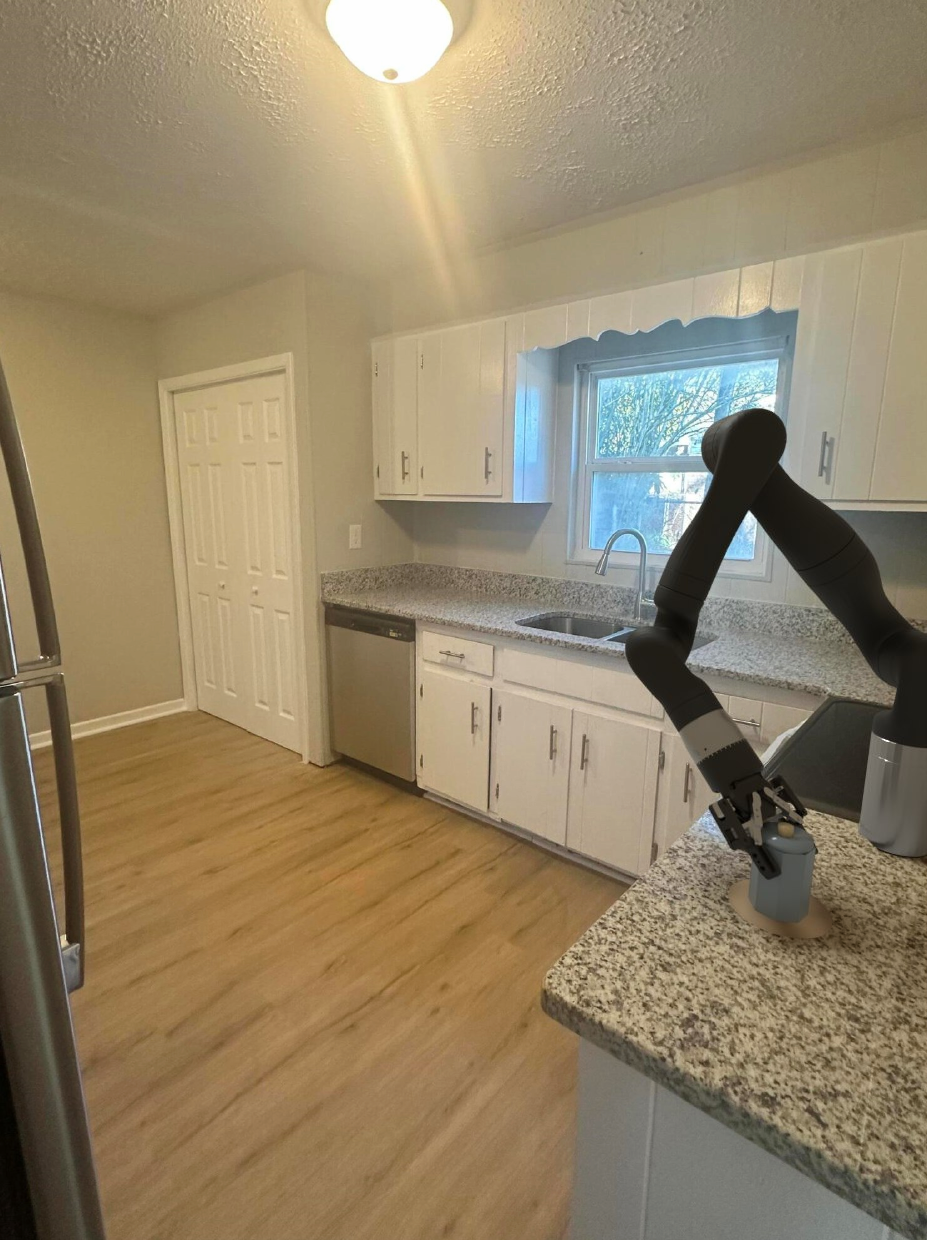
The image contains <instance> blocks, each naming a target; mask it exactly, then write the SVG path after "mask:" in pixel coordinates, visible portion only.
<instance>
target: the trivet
mask: <svg viewBox="0 0 927 1240" xmlns="http://www.w3.org/2000/svg"><path fill="white" fill-rule="evenodd" d="M749 883H750V878H747V879H743V880H740V881H737V882H736V883H734V884H733V885H731V887H730V888H729V890H728V893H727V896H728V901H729V904H730V906H731V907H732V908H733V910H735V912H736V913H737V914H738V915H739V916H740V917H741V918H743V919H744V920H745V921H747V922H748V923H750V924H752V925H753V926H755V927H757V928H759V929H761V930H764V931H766V932H768V933H771V934H774V935H778V936H782V937H787V938H791V939H792V938H793V939H801V940H802V939H804V940H805V939H816V938H819V937H822V936H824V935H826V934H827V933H829V931H830V930H831V929H832V927H833V916H832V914H831V912H830V911H829V910H828V908H827V907H826V906H825V905H824V904H823V903H822V901H820V900H819V899H818V898H816V897H815V896H813V895H812V894H810V902H809V911H808V915H807V916H806V917H805V918H803V919H802V920H801V921H800V922H799V923H792V922H780V921H774V920H773V919H771V918H769V917H767V916H765V915H763V914H761V913H759V912H757V911H755V910H754V908H753V906H752V904H751V902H750V900H749V898H748V893H749Z"/></svg>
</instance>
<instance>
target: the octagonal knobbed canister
mask: <svg viewBox="0 0 927 1240" xmlns="http://www.w3.org/2000/svg"><path fill="white" fill-rule="evenodd" d="M805 830H806V829H805ZM805 830H803V829H801V828H799V827H796V826H793V825H791V824H789V823H785V822H766V823H763V826H762V828H761V837H762V845H764V844H765V846H766V847H767V849H768V850H769V852H770V854H771V855H772V857H773V858H774V860H775V862H776V863H777V865H778V866H779V868H780V870H781V872H782V873H781V875H779V876H778V877H775V878H773V879H770V880H767V879H765V878H764V876H763V875H762V874H761V873H760V872H759V870H758V868H757V867H756V865H755V864H754V862H753V860H752V859H751V862H750V863H751V864H750V874H749V879H750V883H749V893H748V898H749V900H750V902H751V904H752V906H753V908H754V910H755V911H757V912H759V913H761V914H763V915H765V916H767V917H769V918H771V919H773V920H774V921H780V922H792V923H799V922H800V921H801V920H802V919H803V918H805V917H806V916H807V915H808V911H809V902H810V895H812V894H811V893H812V892H811V891H812V883H813V878H814V877H813V876H814V875H813V874H814V868H815V860H816V859H815V858H816V855H815V852H816V848H815V846H814V843H815V838H814V837H813V836H812V834H810V833H809V832H808V831H807V830H806V831H807V832H806V831H805ZM762 845H761V846H762Z"/></svg>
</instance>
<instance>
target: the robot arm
mask: <svg viewBox="0 0 927 1240" xmlns="http://www.w3.org/2000/svg"><path fill="white" fill-rule="evenodd" d="M787 438H788V433H787V428H786V425H785V423H784V421H783V420H782V419H781V417H780V416H779V415H778V414H777V413H775V412H774V411H772V410H771V409H768V408H767V409H766V408H761V407H754V408H746V409H742V410H740V411H737V412H735V413H733V414H729V415H727V416H724V417H722V418H720V419H718V420H716V421H715V422H713V423H712V424H711V425H710V426H709V427H708V428H707V429H706V430H705V432H704V434H703V436H702V439H701V443H700V452H701V453H700V454H701V458H702V461H703V463H704V465H705V467H706V469H707V470H708V471H709V472H710V473H711V475H712V479H711V482H710V485H709V487H708V489H707V493H706V494H705V496H704V498H703V501H702V502H701V505H700V506H699V508H698V511H696V514H695V515H694V517H693V518H692V520H691V521H690V523H689V524H688V526H687V527H686V529H685V530H684V532H683V533H682V535H681V536H680V538H679V540H678V541H677V542H676V544H675V546H674V548H673V550H672V552H670V555H669V558H668V559H667V562H666V564H665V567H664V569H663V571H662V573H661V576H660V579H659V581H658V583H657V586H656V588H655V591H654V594H653V604H654V605H655V606H656V608H657V612H656V615H655V619H654V622H653V626H652V625H644V626H640V627H638V628H635V629H634V630H633V631H631V632H630V633H629V634H628V636H627V638H626V640H625V645H624V654H625V658H626V660H627V663H628V665H629V667H630V669H631V670H632V672H633V674H634V675H635V676H636V677H637V678H638V680H639V681H640V682H641V683H642V685H644V687H645V688H646V689H647V690H648V691H649V693H650V694H651V695H652V696H653V697H654V698H655V699H656V700H657V701H658V702H659V704H661V706H662V707H663V709H664V711H665V713H666V714H667V716H668V718H669V720H670V721H671V723H672V724H673V726H674V728H675V729H676V731H677V732H678V735H679V737H680V738H681V740H682V743H683V745H684V748H685V749H686V751H687V752H688V754H689V757H691V759H692V760H693V763H694V764H695V765H696V768H697V769H698V770H699V772H700V774H701V775H702V777H703V779H704V780H705V782H706V783H707V785H708V787H709V789H710V790H711V792H712V793H714V794H720V795H721V798H719V799H718V800H716V801H715V802H713V803H711V804H709V805H708V810H709V812H710V814H711V816H712V818H713V820H714V821H715V823H716V825H717V827H718V828H719V830H720V833H721V834H722V837H724V840H725V842H726V843H727V845H728V846H729V848H730V849H731V851H734V852H736V851H738V850H740V851H741V850H742V851H743V852H746V853H747V854H748V855H749V857H750V858H751V861H752V860H753V862H754V864H755V865H756V867H757V868H758V870H759V872H760V873H761V874H762V875H763V876H764V878H765V879H767V880H770V879H773V878H775V877H778V876H779V875H781V873H782V872H781V870H780V868H779V866H778V865H777V863H776V862H775V860H774V858H773V857H772V855H771V854H770V852H769V850H768V849H767V847H766V846H765V844H764V845H762V837H761V828H762V826H763V823H762V821H764V820H766V819H767V820H768V821H770V822H785V823H789V824H791V825H793V826H796V827H799V828H801V829H803V830H805V831H806V832H808V831H807V830H806V828H805V827H804V817H806V816H808V811H807V809H806V807H805V806H804V805H803V804H802V802H801V801H800V799H799V798H798V797H797V795H796V794H795V792H794V791H793V789H792V788H791V787H790V786H789V784H788V782H786V780H785V779H784V777H783V776H782V775H780V774H777V775H775V776H773V777H771V778H769V779H766V778H765V777H764V776H763V775H762V772H763V771H764V770H765V765H764V763H763V762H762V760H761V758H760V757H759V756H758V755H757V753H756V751H755V750H754V748H753V747H752V745H751V743H750V742H749V741H748V739H747V738H746V737H745V735H744V734H743V732H742V731H741V729H740V727H739V725H738V724H737V723H736V722H735V721H734V719H733V718H732V717H731V716H730V715H729V713H728V711H726V709H725V708H724V707H723V705H722V704H721V702H720V701H719V699H718V698H717V696H716V694H715V693H714V692H713V690H712V689H711V687H710V686H709V685H708V683H707V682H706V681H704V679H702V678H701V677H699V676H697V675H695V674H694V673H693V672H692V671H691V670H690V669H689V667H688V666H687V664H686V663H687V660H688V659H689V656H690V654H691V652H692V650H693V646H694V642H695V638H696V633H697V628H698V625H699V617H700V613H701V610H702V608H703V607H704V604H705V602H706V600H707V598H708V595H709V593H710V591H711V588H712V586H713V584H714V581H715V579H716V577H717V575H718V572H719V570H720V568H721V565H722V563H723V561H724V559H725V556H726V554H727V552H728V550H729V548H730V546H731V544H732V542H733V540H734V538H735V536H736V535H737V532H738V531H739V528H740V527H741V525H742V523H743V521H744V519H745V518H746V516H747V514H748V513H749V512H750V513H751V515H752V516H753V517H754V518H755V520H756V521H757V522H758V524H759V525H760V526H761V528H762V530H764V532H765V533H766V535H767V536H768V538H769V539H770V540H771V542H772V543H774V545H775V547H776V548H777V549H778V550H779V551H780V553H782V555H783V556H784V558H785V559H786V560H787V562H788V563H789V564H790V567H792V569H793V570H794V571H795V572H796V574H797V575H798V577H800V579H802V581H803V582H804V584H806V586H807V587H808V588H809V589H810V590H811V591H812V592H813V593H814V594H815V596H816V597H817V599H819V600H820V602H822V604H823V606H825V608H827V610H828V611H829V612H830V613H831V614H832V615H833V616H834V617H835V618H836V619H837V620H838V621H839V622H840V624H841V625H842V626H843V627H844V628H845V630H846V631H847V633H848V634H849V636H850V637H851V639H852V640H853V642H854V643H855V646H857V648H858V649H859V651H860V653H861V655H862V656H863V658H864V660H865V661H866V663H867V664H868V666H869V667H870V669H871V670H872V671H873V673H874V675H876V677H878V678H879V679H880V680H881V681H882V682H883V683H885V684H887V685H888V686H890V687H893V688H895V689H896V690H895V695H894V700H893V705H892V708H891V709H886V710H881V711H878V712H877V713H876V714H875V715H874V717H873V720H872V726H871V735H870V742H869V751H868V757H867V759H868V760H867V764H866V765H867V766H866V773H865V774H866V775H865V781H864V788H863V797H862V803H861V805H862V806H861V809H860V811H861V812H860V818H859V825H858V826H859V827H858V836H863V837H864V838H865V839H866V840H867V841H868V842H869V843H870V844H871V845H872V846H873V847H874V848H876V849H878V850H881V851H882V852H883V851H884V852H887V853H890V854H894V855H898V856H901V857H914V858H915V857H924V856H927V632H923V631H921V630H919V629H917V628H915V627H914V626H913V625H912V624H911V623H910V622H909V621H908V620H907V619H906V618H905V617H904V616H903V615H902V614H901V613H900V611H898V609H897V608H896V607H895V606H894V605H893V604H892V603H891V600H889V598H888V596H887V595H886V593H885V590H884V586H883V583H882V578H881V573H880V569H879V565H878V563H877V560H876V558H875V556H874V554H873V553H872V551H871V550H870V548H869V547H868V545H866V543H865V542H864V541H863V540H862V538H861V537H860V536H859V534H858V533H857V532H856V531H855V529H854V528H853V527H852V526H851V524H849V522H848V521H846V520H845V519H844V517H842V516H841V515H840V514H838V513H837V512H836V511H835V510H833V508H831V507H830V506H829V505H827V504H825V503H824V502H823V501H821V500H819V498H817V497H815V496H814V495H813V494H811V493H810V492H808V491H807V490H806V489H804V488H803V487H801V485H799V484H798V483H796V482H795V480H793V479H792V477H791V476H790V475H789V474H788V473H787V471H785V469H784V468H783V466H782V465H781V463H780V460H781V459H782V457H783V455H784V452H785V450H786V446H787V443H788V441H787V440H788V439H787ZM789 802H790V804H789ZM791 805H792V806H793V808H794V810H793V809H791ZM745 822H746V823H745ZM731 828H733V829H734V831H735V832H736V834H737V836H738V838H736V839H735V837H734V835H733V833H732V831H731ZM750 833H751V837H749V834H750ZM761 845H762V846H761ZM814 846H815V848H816V852H815V856H816V855H818V854H819V849H818V847H817V846H816V843H815V842H814Z"/></svg>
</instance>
